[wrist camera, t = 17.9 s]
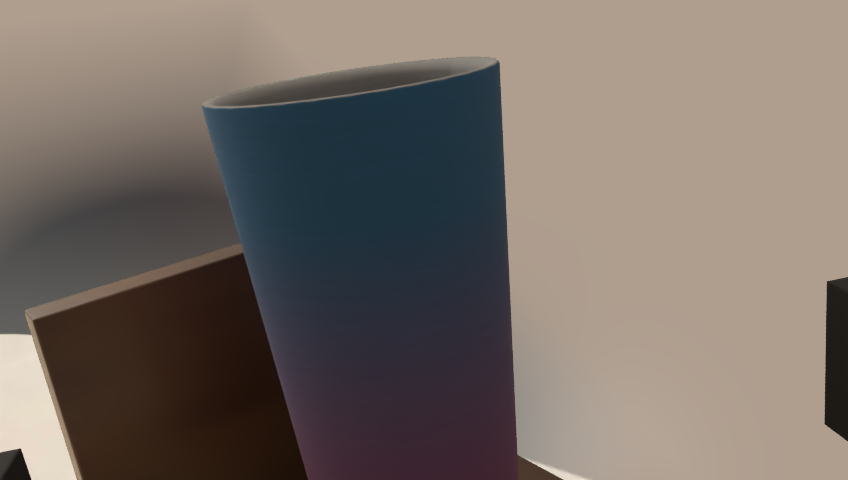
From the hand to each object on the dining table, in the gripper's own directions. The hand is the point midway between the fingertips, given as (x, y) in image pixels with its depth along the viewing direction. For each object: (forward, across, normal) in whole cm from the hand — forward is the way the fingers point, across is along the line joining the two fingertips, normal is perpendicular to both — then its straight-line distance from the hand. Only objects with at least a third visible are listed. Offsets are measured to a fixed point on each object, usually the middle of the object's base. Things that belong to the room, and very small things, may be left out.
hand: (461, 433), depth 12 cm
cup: (+7, 0, -10) cm, 12 cm away
